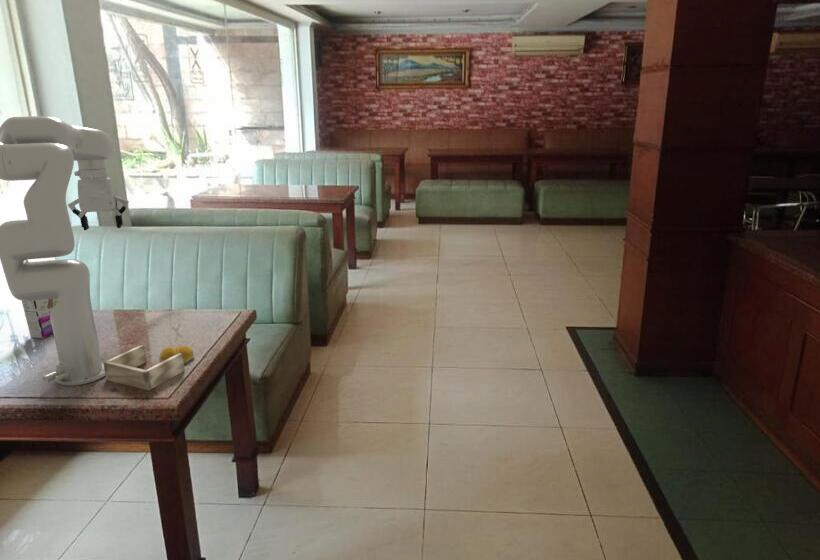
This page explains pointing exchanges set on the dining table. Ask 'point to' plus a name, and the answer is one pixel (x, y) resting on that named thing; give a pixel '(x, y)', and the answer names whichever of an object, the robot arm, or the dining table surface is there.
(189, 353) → the bread roll
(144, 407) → the dining table surface
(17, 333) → the dining table surface
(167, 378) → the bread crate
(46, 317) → the candy bar box
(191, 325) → the dining table surface
